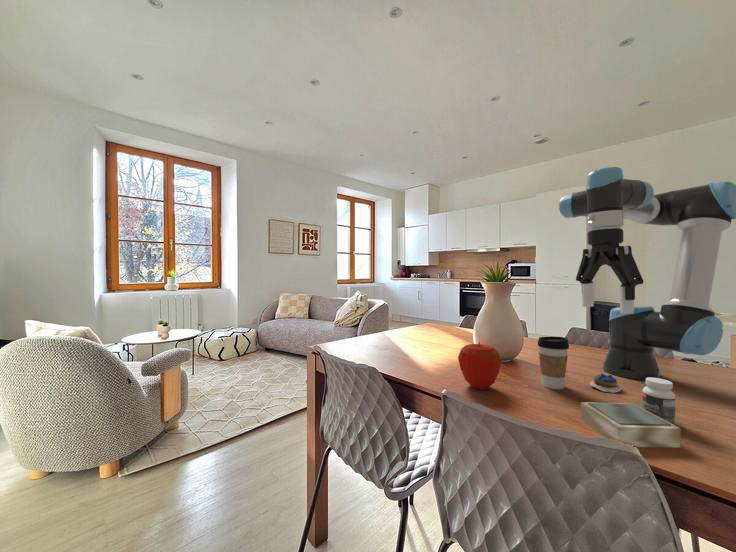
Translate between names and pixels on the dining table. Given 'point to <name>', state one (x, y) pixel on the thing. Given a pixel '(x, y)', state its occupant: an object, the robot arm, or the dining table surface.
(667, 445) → the tray
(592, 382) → the dessert
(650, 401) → the pill bottle
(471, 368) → the apple
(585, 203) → the robot arm
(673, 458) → the dining table surface
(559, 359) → the coffee cup
